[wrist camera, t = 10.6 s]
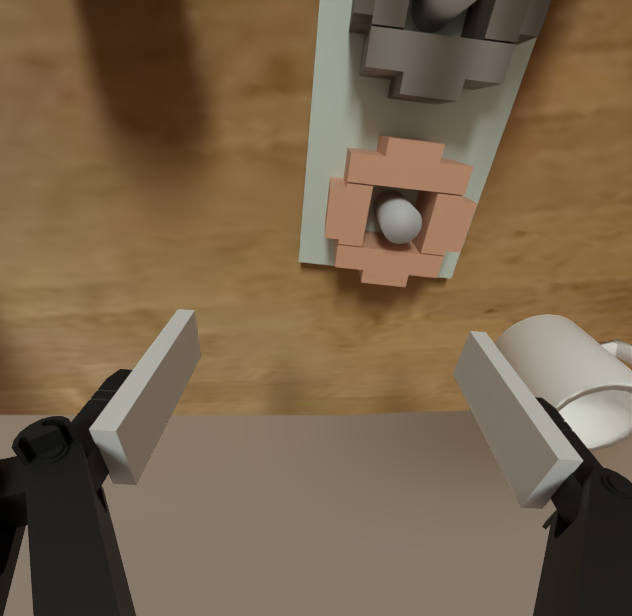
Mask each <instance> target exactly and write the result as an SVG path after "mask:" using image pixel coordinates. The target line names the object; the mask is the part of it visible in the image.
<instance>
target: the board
mask: <svg viewBox="0 0 632 616" xmlns="http://www.w3.org/2000/svg"><path fill="white" fill-rule="evenodd" d="M475 1H476V0H409V6H408V11H407V16H406V22H405V27H404V29H403V30H407V31H415V32H423V33H431V34H438V35H446V36H454V37H461V34H462V30H463V26H464V22H465V18H466V14H467V11H468V7H469V6H470V5H471V4H473V3H474V2H475ZM351 9H352V0H320V5H319V17H318V29H317V42H316V54H315V67H314V79H313V91H312V104H311V116H310V128H309V141H308V153H307V165H306V178H305V190H304V202H303V215H302V227H301V240H300V252H299V262H304V263H313V264H322V265H331V266H335V259H334V243H335V239H331V238H324V236H325V216H326V208H327V199H328V191H329V182H330V177H336V178H343V177H344V174H345V173H344V170H345V163H346V155H347V148H348V147H349V148H357V149H366V150H375V151H376V150H377V145H378V139H379V135H384V136H393V137H401V138H410V139H418V140H426V141H431V142H436V143H441V144H445V146H444V150H443V154H442V157H441V158H443V159H451V160H454V161H457V162H460V163H463V164H467V165H470V166H473V170H472V173H471V176H470V180H469V183H468V186H467V189H466V192H465V195H463V196H465V197H466V198H468V199H470V200H472V201H474V202H475V203H477V204H478V202H479V199H480V196H481V193H482V190H483V188H484V185H485V182H486V179H487V176H488V174H489V171H490V168H491V165H492V162H493V160H494V157H495V154H496V151H497V148H498V146H499V143H500V140H501V137H502V134H503V131H504V129H505V126H506V123H507V120H508V117H509V115H510V112H511V109H512V106H513V103H514V101H515V98H516V95H517V92H518V89H519V87H520V84H521V81H522V78H523V75H524V73H525V70H526V67H527V64H528V61H529V59H530V56H531V53H532V50H533V47H534V45H535V42H536V39H537V37H536V38H534V39H531V40H529V41H526V42H524V43H521V44H518V45H516V46H515V49H514V52H513V55H512V58H511V61H510V64H509V67H508V70H507V73H506V76H505V79H504V82H503V84H500V85H495V86H490V87H485V88H480V89H476V90H468V89H462V92H461V95H460V99H459V101H457V102H450V103H443V104H430V103H422V102H414V101H406V100H398V99H389V98H388V92H389V87H390V81H391V80H388V79H380V78H372V77H363V76H359V72H360V65H361V58H362V51H363V44H364V37H365V34H359V33H351V32H349V25H350V17H351ZM418 194H419V190H414V189H405V188H397V187H388V186H379V185H373V189H372V195H371V200H370V206H369V211H368V216H367V222H366V227H365V231H372V232H381V233H384V235H385V237H386V238H387V239H388V240H389V241H391V242H393V243H396V244H403V243H407V242H409V241H411V240H413V239H414V238H415V237H416V236H417V235H418V233H419V231H420V229H421V226H422V218H421V215H420V213H419V212H418V211H417V210H416V209H415V206H416V202H417V198H418ZM476 207H477V206H476ZM475 210H476V209H475ZM474 213H475V212H474ZM473 216H474V215H473ZM471 221H472V220H471ZM470 224H471V223H470ZM469 227H470V226H469ZM468 230H469V229H468ZM465 238H466V237H465ZM464 241H465V240H464ZM463 244H464V243H463ZM460 252H461V251H460ZM459 255H460V253H459V252H450V251H446V252H445V255H443V256H444V258H443V262H442V265H441V268H440V271H439V274H438V277H441V278H450V279H451V277H452V274H453V272H454V269H455V266H456V263H457V260H458V258H459Z"/></svg>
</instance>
